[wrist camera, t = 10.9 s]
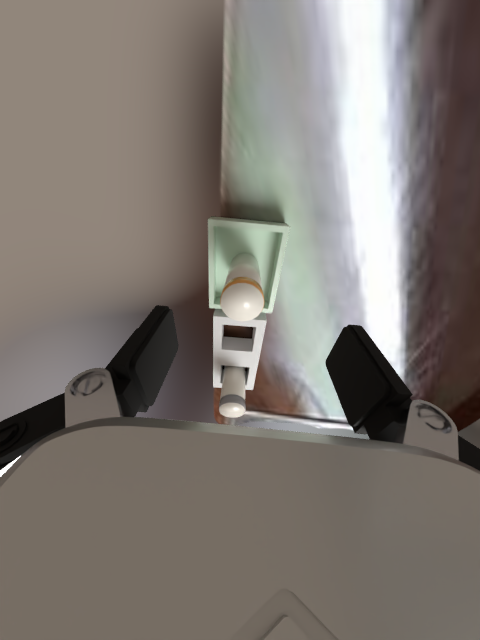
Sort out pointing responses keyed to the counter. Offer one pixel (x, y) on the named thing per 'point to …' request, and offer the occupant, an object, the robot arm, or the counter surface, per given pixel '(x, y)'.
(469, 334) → the counter surface
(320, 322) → the counter surface
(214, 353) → the holder block
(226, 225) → the tray
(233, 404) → the cylinder
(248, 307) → the cylinder
